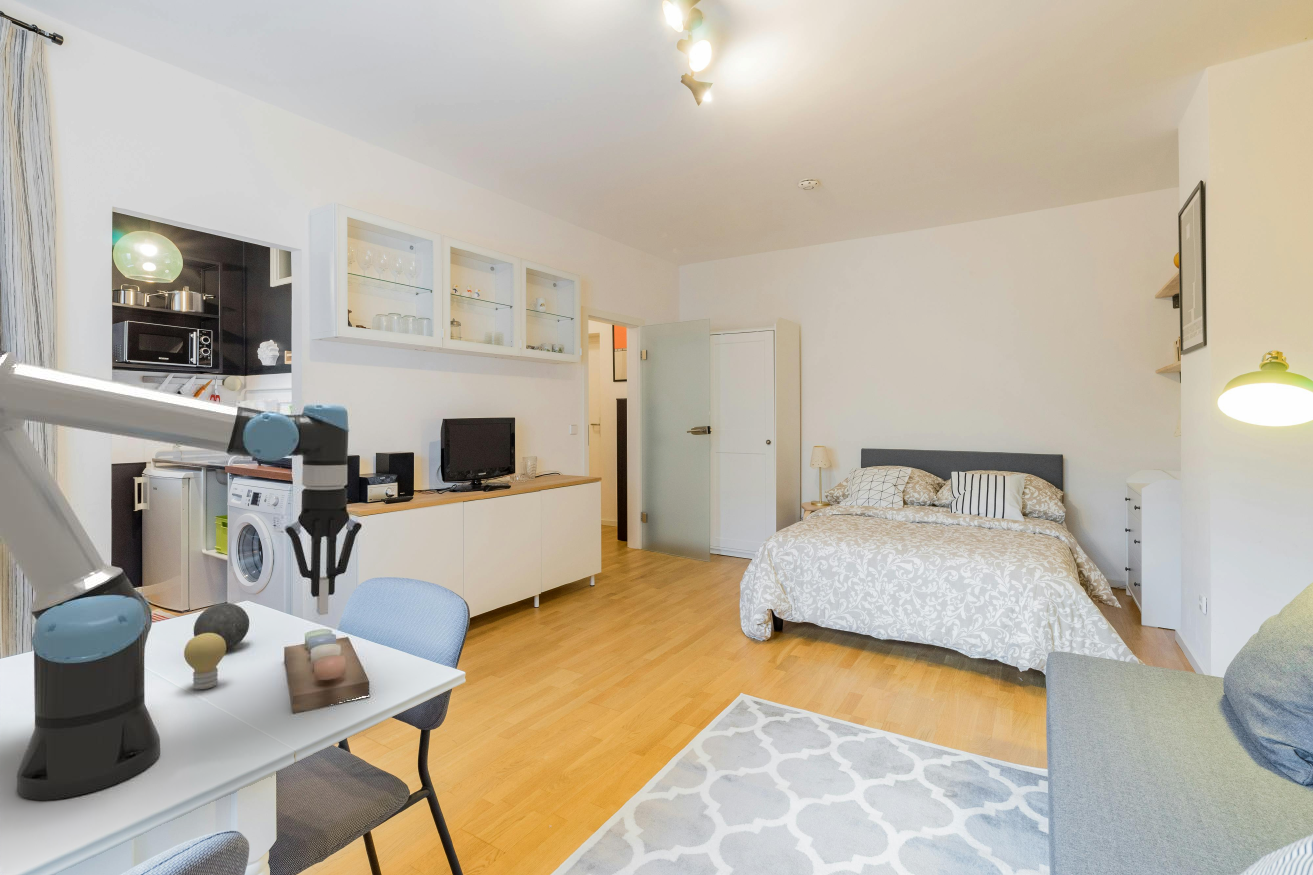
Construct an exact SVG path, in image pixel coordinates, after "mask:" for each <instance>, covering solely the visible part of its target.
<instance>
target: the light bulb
mask: <svg viewBox="0 0 1313 875" xmlns="http://www.w3.org/2000/svg"><path fill="white" fill-rule="evenodd" d="M226 651H227V650H226V643H225V640H224V639H223V638H222V637H221V636H220V635H218V634H214V633H204V634H200V635H197V636H195V637H194V636H193V637H192V638H190V639H189V640H188V642H187V643H186V644H185V647H184V650H183V657H184V659H185V661H186V663H187V665H189V666H190V667H191V668H192V669H193V673H192V676H193V679H192V682H193V684H192V685H193V686H192V687H193V688H194V689H196V690H200V691H201V690H207V689H210V688H213V687H214V686H216V685H217V684H218V681H219V679H218V676H219V675H218V671H219V670H218V667H217V666H218V665H219V664H220V662H221V661H222V660H223V657H224V656H225V654H226Z"/></svg>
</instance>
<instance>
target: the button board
mask: <svg viewBox="0 0 1313 875" xmlns="http://www.w3.org/2000/svg"><path fill="white" fill-rule="evenodd" d="M336 644H338V645H340V646H341V655H342V656H345V674H344V675H342V676H340V677H338V678H334V679H329V680H318V679H315V678H314V666H311V655H309V654H308V649H306V648H305V643H302V644H300V643H299V644H296V645H295V644H294V645H288V646H284V650H283V651H284V652H283V654H284V656H283V660H284V661H283V663H284V668H285V669H284V670H285V674H286V680H287V685H288V686H287V687H288V690H289V691H288V692H289V697H290V698H289V699H290V704H291V709H292V710H291V711H292V714H298V713H301V711H303V712H307V711H306V710H308V711H311V709H313V710H316V709H315V708H317V709H321V708H320V707H322V708H326V707H325V706H327V707H330V706H329V705H331V704H336V705H338V704H337V703H339V702H344V701H347V700H352V699H356V698H359V697H362V696H368V695H369V696H370V679H369V677H368V675H367V673H366V670H365V669H364V667H363V665H362V663H361V660H360V659H359V657H358V654H357V652H356V651H355V648H354V647H353V644H352V642H351V640H350V638H349V636H345V637H339V638H336ZM297 712H298V713H297Z"/></svg>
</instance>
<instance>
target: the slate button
mask: <svg viewBox="0 0 1313 875" xmlns="http://www.w3.org/2000/svg"><path fill="white" fill-rule="evenodd" d="M336 639H337V635H336V634H335V633H332V634H319V635H315V636H312V637H310V638H308V654H309V655H311V649H312V648H314V647H316V646H319V645H324V644H336Z"/></svg>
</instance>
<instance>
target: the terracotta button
mask: <svg viewBox="0 0 1313 875" xmlns="http://www.w3.org/2000/svg"><path fill="white" fill-rule="evenodd" d="M344 674H345V656H342V655H330V656H325V657H321V658H319V659H317V660H315V661H314V678H315V679H318V680H329V679H334V678H338V677H340V676H342V675H344Z"/></svg>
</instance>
